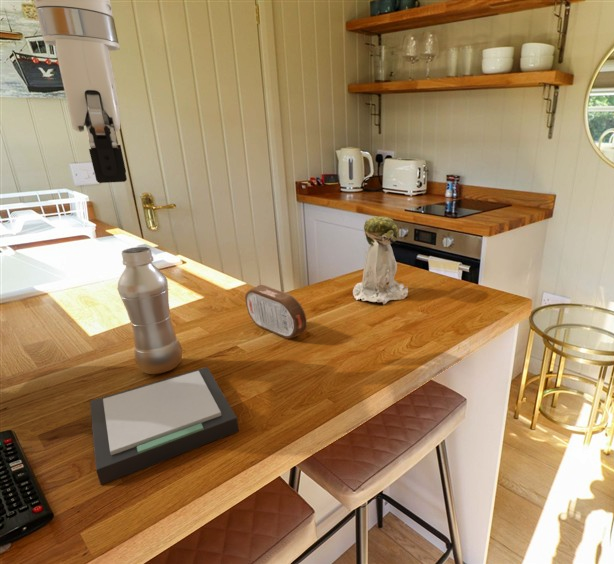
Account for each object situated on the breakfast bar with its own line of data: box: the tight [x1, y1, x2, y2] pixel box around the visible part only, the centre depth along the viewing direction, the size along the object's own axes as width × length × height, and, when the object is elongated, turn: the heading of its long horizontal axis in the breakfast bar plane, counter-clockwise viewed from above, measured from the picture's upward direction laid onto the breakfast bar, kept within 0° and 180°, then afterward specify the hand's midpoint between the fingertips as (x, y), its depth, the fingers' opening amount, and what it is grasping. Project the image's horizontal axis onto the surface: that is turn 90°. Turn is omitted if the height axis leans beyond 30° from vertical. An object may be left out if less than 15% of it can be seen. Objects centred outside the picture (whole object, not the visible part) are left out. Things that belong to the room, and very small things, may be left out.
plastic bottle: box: [116, 246, 183, 375], centre depth 65 cm, size 6×7×20 cm
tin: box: [244, 284, 307, 340], centre depth 80 cm, size 15×3×8 cm, turn 54°
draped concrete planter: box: [352, 215, 409, 305], centre depth 97 cm, size 12×13×18 cm
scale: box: [89, 366, 239, 486], centre depth 56 cm, size 15×15×3 cm
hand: (112, 177), depth 57 cm, fingers open, 9 cm apart
